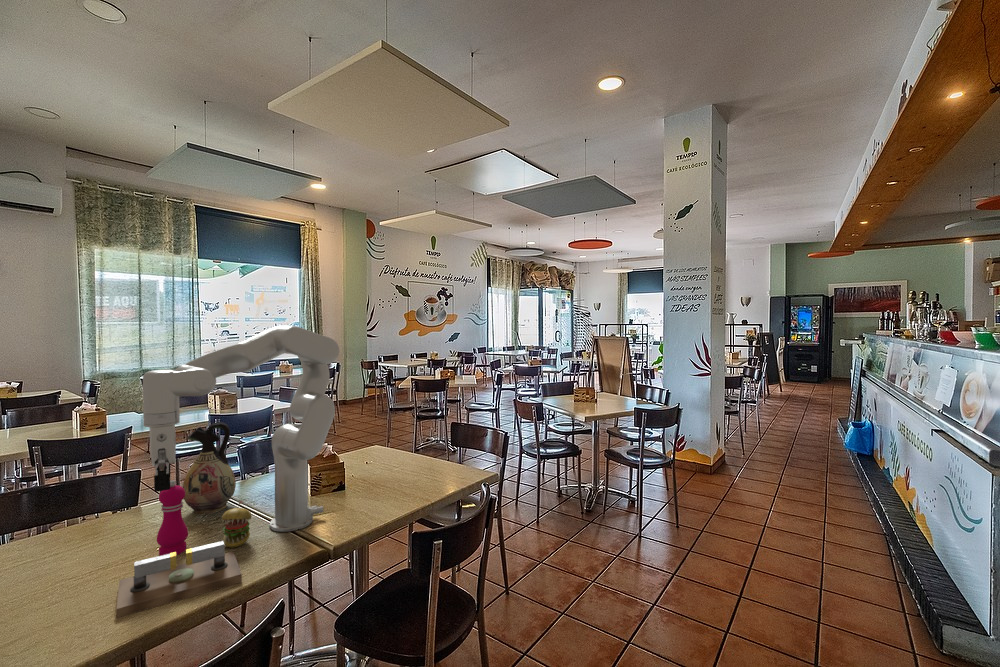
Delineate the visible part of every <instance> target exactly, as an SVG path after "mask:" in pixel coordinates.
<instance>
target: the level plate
mask: <svg viewBox="0 0 1000 667" xmlns="http://www.w3.org/2000/svg"><path fill="white" fill-rule="evenodd" d="M224 554H225V565H224V566H222V567H214V559H210V560H206V561H202V562H199V563H195V564H192V565H188V566H186V562H185V563H181V564H176V565H177V568H176V569H172V570H167V571H163V572H159V573H155V574H151V575H147V576H146V581H147V584H146V586H144V587H142V588H139V589H134V579H133V577H134V575H133V576H130V577H126V578H123V579H119V581H118V582H119V583H118V592H117V599H116V600H117V601H116V619H119V618H121V617H125V616H128V615H131V614H132V615H133V614H135V613H139V612H143V611H146V610H150V609H152V608H156V607H160V606H164V605H167V604H171V603H173V602H177V601H180V600H184V599H187V598H191V597H195V596H198V595H201V594H205V593H209V592H212V591H215V590H219V589H221V588H226V587H230V586H232V585H236V584H240V583H242V576H243V575H242V572H241V568H240V565H239V563H238V560H237V557H236V555H235V552H234V551H229V552H226V553H225V552H224Z"/></svg>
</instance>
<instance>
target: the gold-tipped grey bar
mask: <svg viewBox="0 0 1000 667" xmlns="http://www.w3.org/2000/svg"><path fill="white" fill-rule="evenodd" d="M210 559H214V567H222V566H224V565H225V544H224V542H223V540H221V541H217V542H214V543H209V544H204V545H201V546H196V547H191V548H186V550H185V563H186V566H188V565H192V564H195V563H199V562H202V561H206V560H210Z"/></svg>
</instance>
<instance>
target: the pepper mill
mask: <svg viewBox="0 0 1000 667" xmlns="http://www.w3.org/2000/svg"><path fill="white" fill-rule="evenodd" d="M159 492H160V493H159V494H158V501H159V502H160V503H161V508H160V509H161V512H162V513H163V516H162V522H161V525H160V528H159V529H158V531H157V535H156V544H158V545H159V548H158V556H162V555H166V554H170V553H173V552H176V556H178V555H180V554H182V553H184V552H186V549H187V542H186V539H187V538H188V536H189V529H188V526H187V525H186V523H185V520H184V519H183V516H182V515H183V514H182V508H183V507H184V501H183V500H184V497H185V490H184V488H183V486H181V485H177V481H176V480H170V489H169V490H164V491H159Z"/></svg>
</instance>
